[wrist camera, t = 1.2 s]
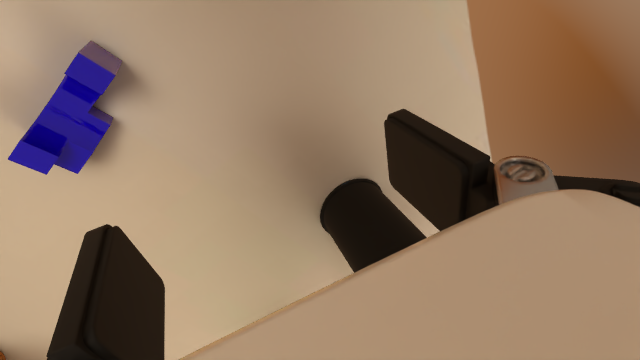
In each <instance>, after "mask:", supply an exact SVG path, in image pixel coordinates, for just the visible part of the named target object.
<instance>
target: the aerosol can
mask: <svg viewBox="0 0 640 360" xmlns="http://www.w3.org/2000/svg"><path fill="white" fill-rule="evenodd" d="M320 219H321V224H322V227H323V228H324V229H325V231H327V232H328V233H329V234H330V235H331V237H332V238H333V240H334V241H335V243H336V245H337V246H338V248H339V249H340V251H341V252H342V254H343V256H344V257H345V259H346V260H347V262H348V264H349V265H350V267H351V268H352V270H353V271H354V273H355V272H357V271H359V270H361V269H363V268H365V267H367V266H369V265H372V264H374V263H376V262H378V261H380V260H382V259H384V258H386V257H388V256H390V255H392V254H394V253H396V252H399V251H401V250H403V249H405V248H407V247H409V246H411V245H413V244H415V243H417V242H419V241H421V240H423V239H426V238H427V237H426V236H425V235H424V234H423V233H422V232H421V231H420V230H419V229H418V228H417V227H416V226H415V225H414V224H413V223H412V222H411V221H410V220H409V219H408V218H407V217H406V216H405V215H404V214H403V213H402V212H401V211H400V210H399V209H398V208H397V207H396V206H395V205H394V204H393V203H392V202H391V201H390V200H389V199H388V198H387V197H386V196H385V195H384V194H383V193H382V191H381V189H380V187H379V186H378V185H377V184H376V183H375V182H373V181H371V180H368V179H354V180H351V181H348V182H346V183H344V184H342V185H340V186H339V187H337V188H336V189H335V190H334V191H333V192H331V193H330V195H329V196H328V197H327V198H326V200H325V202H324V204H323V206H322V209H321V214H320Z"/></svg>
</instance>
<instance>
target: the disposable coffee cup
mask: <svg viewBox="0 0 640 360" xmlns="http://www.w3.org/2000/svg"><path fill="white" fill-rule="evenodd" d="M0 360H6V358H5V356H4V355H3V353H2V352H0Z"/></svg>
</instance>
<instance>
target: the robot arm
mask: <svg viewBox="0 0 640 360" xmlns="http://www.w3.org/2000/svg"><path fill="white" fill-rule="evenodd" d="M384 127H385V138H386V149H387V160H388V170H389V180H390V183H391V185H392V186H393V188H394V189H395V190H397V191H398V192H399V193H400V194H401V195H402V196H403V197H404V198H405V199H406V200H407V201H408V202H409V203H411V204H412V205H413V206H414V207H415V208H416V209H417V210H418V211H419V212H420V213H421V214H422V215H423V216H424V217H426V218H427V219H428V220H429V221H430V222H431V223H432V224H433V225H434V226H435V227H436V228H437V229H438V230H440V232H438V233H436V234H434V235H432V236H430V237H428V238H426V239H423V240H421V241H419V242H417V243H415V244H413V245H411V246H409V247H407V248H405V249H403V250H401V251H399V252H396V253H394V254H392V255H390V256H388V257H386V258H384V259H382V260H380V261H378V262H376V263H374V264H372V265H369V266H367V267H365V268H363V269H361V270H359V271H357V272H355V273H353V274H351V275H349V276H347V277H345V278H343V279H341V280H339V281H337V282H335V283H333V284H330V285H328V286H326V287H324V288H322V289H320V290H318V291H316V292H314V293H312V294H310V295H308V296H306V297H304V298H302V299H300V300H298V301H296V302H294V303H292V304H290V305H288V306H286V307H284V308H281V309H279V310H277V311H275V312H273V313H271V314H269V315H267V316H265V317H263V318H261V319H259V320H257V321H255V322H253V323H251V324H249V325H247V326H245V327H243V328H241V329H239V330H237V331H235V332H233V333H231V334H229V335H227V336H225V337H223V338H221V339H219V340H217V341H215V342H213V343H211V344H209V345H207V346H205V347H203V348H201V349H199V350H197V351H195V352H193V353H191V354H189V355H187V356H185V357H183V358H181V359H179V360H640V183H637V182H633V181H625V180H615V179H599V178H584V177H569V176H553V173H552V170H551V169H550V167H549V166H548V165H546V164H545V163H544V162H542V161H540V160H537V159H535V158H531V157H526V156H510V157H506V158H503V159H501V160H499V161H498V162H497V163H496V164H493V163H492V162H490V156H488V155H487V154H485V153H483V152H481V151H479V150H478V149H476V148H474V147H472V146H470V145H469V144H467V143H465V142H463V141H461V140H460V139H458V138H456V137H454V136H452V135H451V134H449V133H447V132H445V131H443V130H442V129H440V128H438V127H436V126H434V125H433V124H431V123H429V122H427V121H425V120H424V119H422V118H420V117H418V116H416V115H415V114H413V113H411V112H409V111H407V110H406V109H401V110H399V111H396V112H394V113H391V114H389V115H388V117H387V120H385V122H384ZM164 322H165V287H164V284H163V281H162V279H161V278H160V276H159V275H158V274H157V273H156V272H155V270H154V269H153V268H152V267H151V265H150V264H149V263H148V262H147V261H146V259H145V258H144V257H143V256H142V254H141V253H140V252H139V251H138V249H137V248H136V247H135V246H134V245H133V243H132V242H131V241H130V240H129V238H128V237H127V236H126V235H125V233H124V232H123V231H122V230H121V229H120V228H119V227H118V226H114V227H112V226H110V225H108V224H106V225H104V226H101V227H99V228H96V229H93V230H91V231H88V232H86V234H85V236H84V239H83V243H82V246H81V249H80V252H79V255H78V258H77V262H76V265H75V268H74V271H73V274H72V277H71V281H70V284H69V287H68V290H67V293H66V296H65V300H64V303H63V306H62V309H61V312H60V315H59V319H58V322H57V325H56V328H55V331H54V334H53V338H52V341H51V344H50V347H49V350H48V353H47V357H48V358H47V360H164Z"/></svg>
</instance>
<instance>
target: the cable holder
mask: <svg viewBox="0 0 640 360" xmlns="http://www.w3.org/2000/svg"><path fill="white" fill-rule="evenodd" d="M121 63H122V60H120V59H119V58H117V57H116V56H114V55H112V54H111V53H109V52H108V51H106V50H105V49H103V48H102V47H100V46H99V45H97V44H96V43H94V42H93V41H90V42H89V43H88V44H87V45H86V46H85V47H84V48H83V49H82V50H80V51H79V52H78V54H77V55H76V57H75V58H74V60H73V61H72V63H71V64H70V66H69V67H68V69H67V70H66V72H65V73H64V74H66V75H65V77H64V79H63V80H62V82H61V84H60V85H59V87H58V89H57V90H56V92H55V93H54V95H53V96H52V98H51V99H50V101H49V102H48V104H47V105H46V106H45V108H44V109H43V111H42V112H41V114H40V115H39V116H38V118H37V119H36V120H35V122H34V123H33V125H32V126H31V127H30V129H29V130H28V131H27V132H26V134H25V135H24V136H23V138H22V139H21V140H20V141H19V143H18V144H17V146H16V147H15V149H14V150H13V152H12V153H11V155H10V156H9V158H8V160H10V161H13V162H16V163H18V164H21V165H23V166H26V167H28V168H31V169H33V170H36V171H39V172H41V173H44V174H46V175H47V173H48V172H49V170H50V169H51V168H52V166H53V165H54V164H55V165H57V166H60V167H62V168H65V169H67V170H69V171H72V172H74V173H77V174H78V173H79V171H80V170H81V169H82V167H83V166H84V164H85V163H86V162H87V160H88V159H89V157H90V156H91V155H92V153H93V152H94V150H95V148H96V147H97V145H98V143H99V142H100V140H101V139H102V137H103V136H104V134H105V133H106V131H107V130H108V128H109V127H110V125H111V123H112V120H113V117H111V116H110V115H108V114H106V113H104V112H102V111H100V110H98V109H97V108H95V107H93V104H94V103H95V102H96V100H97V99H98V98H99V96H100V95H102V94H103V93H104V91H105V90H106V89H107V87H108V86H109V84H110V83H111V81H112V80H113V78H114V77H115V76H116V74H117V71H118V69H119V67H120V65H121Z"/></svg>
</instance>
